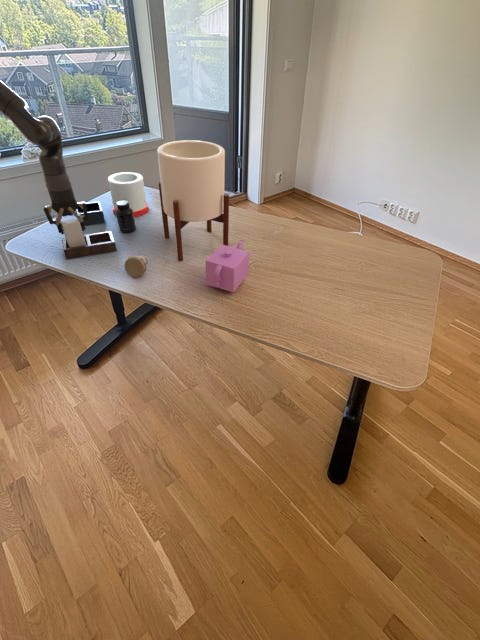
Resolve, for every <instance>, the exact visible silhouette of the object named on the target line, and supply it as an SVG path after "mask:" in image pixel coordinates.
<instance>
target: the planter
mask: <svg viewBox="0 0 480 640" xmlns="http://www.w3.org/2000/svg"><path fill="white" fill-rule="evenodd" d="M157 160H158V161H157V162H158V171H159V181H158V191H159V199H160V209H161V219H162V226H163V227H162V228H163V236H164V240H169V239H171V238H170V228H169V219H168V217H169V218H172V219H174V230H175V231H174V232H175V242H176V243H175V244H176V253H177V255H176V256H177V261H178V262H183V261H184V252H183V239H182V229H183V228H184V227H186V225H187V224H189V223H190V222H191V223H192V222H194V223H197V222H206V232H208V233H211V232H213V231H212V228H213V227H212V226H213V225H212V222H217V223H221V224H222V245H226V246H229V227H230V226H229V224H230V222H229V221H230V219H229V218H230V194H229V193H225V175H226V174H225V171H226V170H225V167H226V164H225V163H226V150H225V148H224V147H223V146H221V145H220V144H218V143H215V142H210V141H205V140H194V139H184V140H175V141H169V142H165V143H163V144H161V145H160V146H158V148H157Z"/></svg>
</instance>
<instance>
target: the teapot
mask: <svg viewBox="0 0 480 640" xmlns="http://www.w3.org/2000/svg"><path fill="white" fill-rule="evenodd" d="M243 245H244V240H243V239H241V240H239V241H238V242H237V245H236V247H233V246H230V245H228V246H226V245H223V244H221V245H220V246H219V247H218V248H217V249H216V250H215V251H214V252H213V253H212V254H211V255H210V256H208V258H207V259H205V284H206V285H208V286H211V287H212V288H217V289H220V290H225V291H228V293H235V292H236V290H237V289H238V288H239V287H240V285H241V284H242V283H243V282H244V281H245V279H246V278H247V276H248V275H249V264H250V251H249V250H244V249H242V248H243Z"/></svg>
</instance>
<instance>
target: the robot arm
mask: <svg viewBox="0 0 480 640" xmlns="http://www.w3.org/2000/svg"><path fill="white" fill-rule="evenodd" d="M0 113H1V114H2V115H4V116H5V118H7V119H8V120H9V121H10V122H12V124H13V126H15V127H16V129H17V130H18V131H19V132H20V133H21V134H22V135H23V137H24V138H26V140H28V142H30V143H32V144H34V145H36V146H37V147H41V151H40V153H39V155H38V161H39V165H40V167H41V170H42V173H43V179H44V183H45V187H46V189H47V193H48V195H49V198H50V202H51V204H50V205H45V204H44V205H43V208H42V209H43V212H44V214H45V217H46V219H47V221H48V223H49V224H50V225H55V226H56V228H57V231H58V233H59V234H61V235H64V232H63V229H62V226H61V223H60V221H61V220H62V217H64V218H65V217H68V216H70V217H73V216H74V218H77V219H78V220H79V221H80V225H81V228H82V231H83V232H85V231H86V226H85V224H84V221H85V220H88V212H87V205H86V203H87V202H86V201H85V200H82V201H77V199H76V195H75V193H74V189H73V184H72V182H71V179H70V176H69V173H68V170H67V166H66V163H65V160H64V153H63V151H64V149H63V138H62V133H61V132H62V131H61V129H60V127H59V125H58V124H57V122H56V121H55V119H53V118H52V117H50V116H48V115H41V116H38V117H34V116H33V115H32V114H31V113H30V112H29V105H28V103H27V102H26V100H25V99H24V98H22V97H21V96H20V95H19V94H17V93H16V92H15V91H14V90H12V89H11V88H10V87H9V86H8V85H7V84H5V83H4V82H3V81H2V80H0ZM78 206H80V207H81V209H83V212H84V215H83V216H81V215H80V214H79V212H78V211H77V208H78ZM52 210H53V211H54V212H56V215H55V218H53V216H52V214H51V213H52Z"/></svg>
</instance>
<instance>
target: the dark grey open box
mask: <svg viewBox="0 0 480 640" xmlns="http://www.w3.org/2000/svg"><path fill="white" fill-rule="evenodd" d="M86 205H87V212H88V220H85V221H84V224H85V227H88V226H96V225H102V224H106V220H105V215H104V211H103V208H102V205H101V202H100V201H93V202H86ZM77 211H78V212H79V214H80V215H81V216H83V215H84V212H83V209H81V207H80V206H78V208H77ZM79 222H80V221H79Z"/></svg>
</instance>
